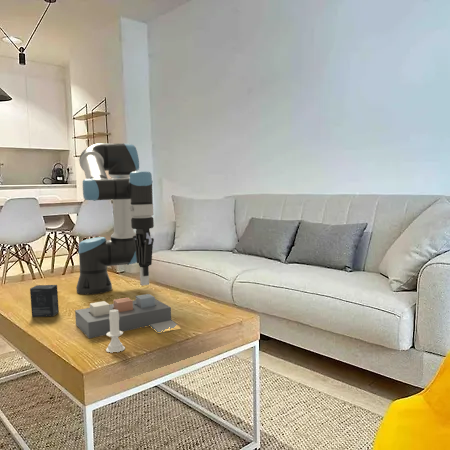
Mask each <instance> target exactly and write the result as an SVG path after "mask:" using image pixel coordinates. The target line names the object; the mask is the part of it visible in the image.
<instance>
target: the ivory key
mask: <svg viewBox="0 0 450 450" xmlns="http://www.w3.org/2000/svg"><path fill="white" fill-rule="evenodd" d="M89 308H90V314H91V315H92V316H93V317H95V316H101V315H106V314H109V311H110V308H109V303H108V302H106V301H105V300H103V301H96V302H90V303H89Z"/></svg>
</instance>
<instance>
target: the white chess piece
mask: <svg viewBox="0 0 450 450" xmlns="http://www.w3.org/2000/svg"><path fill="white" fill-rule="evenodd" d="M109 320H110V332H108V333H107V334H106V335H105V336H107V337H110V342H109V343H108V345H107V347H106V349H105V351H106V352H107V353H109V352H110V353H109V354H112V353H113V352H117V353H120V351H121V352H123V351H124V350H125V349H126V346H124V345H123V343H122V342H121V341H120V338H119V337H120V336H122V335H123V334H124V331H123V332H122V331H119V311H118V310H116V309H113V310H110V311H109Z"/></svg>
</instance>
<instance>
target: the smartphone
mask: <svg viewBox="0 0 450 450" xmlns="http://www.w3.org/2000/svg"><path fill="white" fill-rule="evenodd" d="M176 325H178V323H176V322H175V321H173V319H171V320H170V321H165V322H160V323H155V324H150V326H151V327H152V328H153V329H155V330H156V331H157V332H161V331H162V330H163V331H164V330H165V329H168V328H169V327H170V329H171V328H174V327H175V326H176ZM150 326H149V327H150ZM151 327H150V328H151ZM152 328H151V329H152ZM153 329H152V330H153ZM155 330H154V331H155ZM156 331H155V332H156ZM163 331H162V332H163ZM157 332H156V333H157Z"/></svg>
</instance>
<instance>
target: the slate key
mask: <svg viewBox="0 0 450 450" xmlns="http://www.w3.org/2000/svg"><path fill="white" fill-rule="evenodd" d="M155 299H156V298H155V296H153V295H152V294H150V293H146V294H141V295H135V300H136V306H138V307H139V308H145V307H151V306H155Z"/></svg>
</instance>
